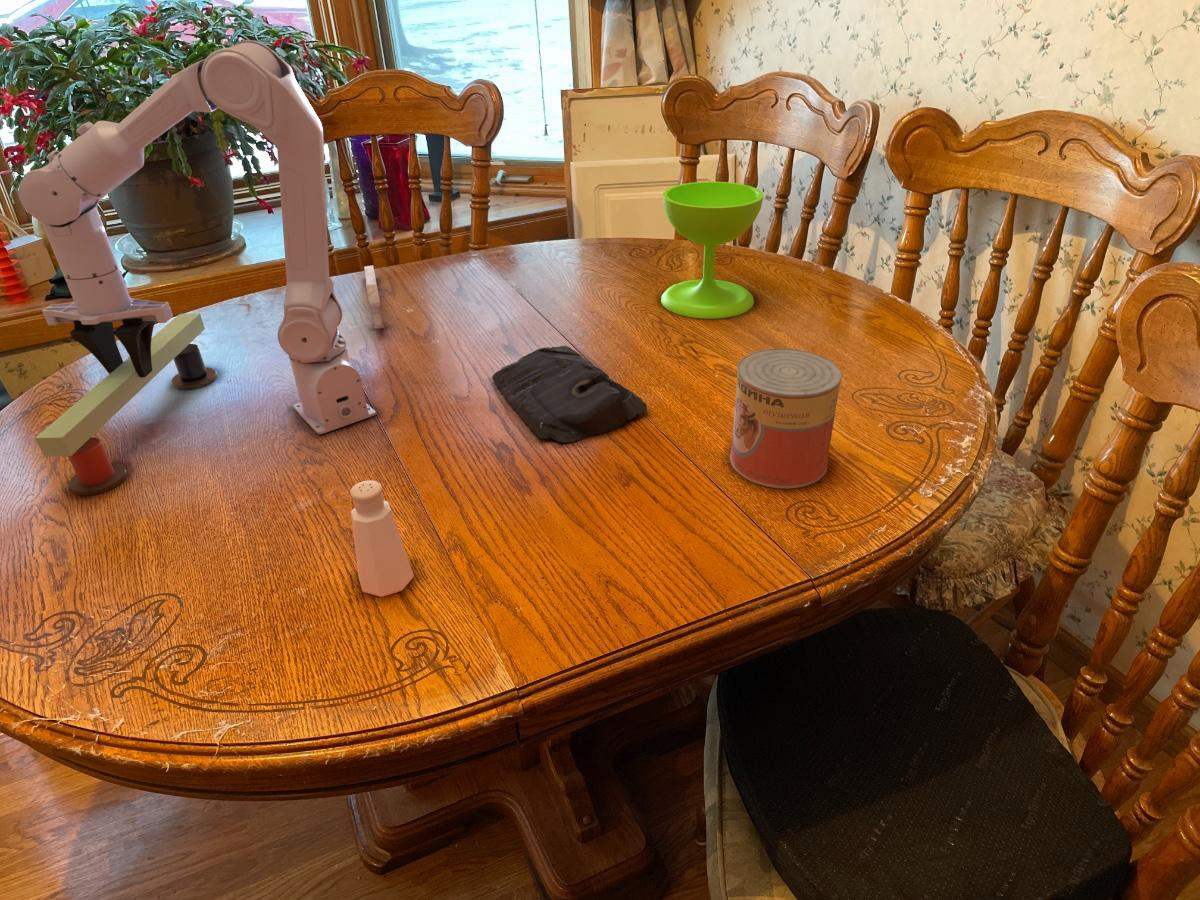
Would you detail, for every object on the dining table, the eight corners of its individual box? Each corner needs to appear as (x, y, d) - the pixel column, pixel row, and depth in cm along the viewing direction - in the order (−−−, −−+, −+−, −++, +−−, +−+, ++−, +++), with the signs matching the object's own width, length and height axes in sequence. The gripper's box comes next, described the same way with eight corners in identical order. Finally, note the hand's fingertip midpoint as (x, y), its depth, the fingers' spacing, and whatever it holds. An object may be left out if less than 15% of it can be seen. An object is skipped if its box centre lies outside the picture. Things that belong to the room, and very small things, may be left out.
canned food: (713, 447, 95) (719, 358, 88) (793, 428, 98) (804, 341, 92) (760, 498, 86) (771, 403, 80) (847, 475, 89) (863, 383, 83)
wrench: (378, 293, 149) (387, 337, 123) (369, 294, 148) (375, 339, 122) (370, 250, 145) (377, 287, 119) (360, 251, 145) (365, 289, 119)
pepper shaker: (418, 559, 79) (400, 469, 73) (409, 596, 74) (389, 504, 68) (365, 561, 79) (342, 471, 73) (352, 599, 74) (327, 506, 68)
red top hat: (132, 482, 92) (117, 446, 89) (75, 502, 89) (57, 465, 86) (121, 461, 96) (106, 426, 93) (66, 479, 93) (49, 443, 90)
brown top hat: (222, 380, 113) (212, 349, 111) (178, 393, 110) (167, 362, 108) (210, 366, 117) (200, 336, 115) (168, 379, 114) (156, 348, 112)
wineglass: (647, 290, 139) (648, 187, 129) (729, 278, 143) (736, 177, 133) (681, 324, 126) (685, 212, 116) (771, 310, 130) (781, 201, 120)
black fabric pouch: (580, 354, 118) (579, 325, 115) (655, 419, 101) (655, 386, 98) (485, 378, 112) (481, 348, 109) (548, 450, 95) (545, 417, 93)
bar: (70, 456, 85) (61, 437, 84) (44, 457, 85) (34, 437, 84) (205, 329, 114) (200, 313, 113) (185, 329, 114) (179, 313, 113)
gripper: (9, 284, 88) (57, 390, 96) (135, 282, 88) (173, 388, 95) (46, 263, 94) (89, 364, 102) (164, 261, 94) (199, 362, 101)
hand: (132, 374), depth 99 cm, fingers closed on bar, 3 cm apart
